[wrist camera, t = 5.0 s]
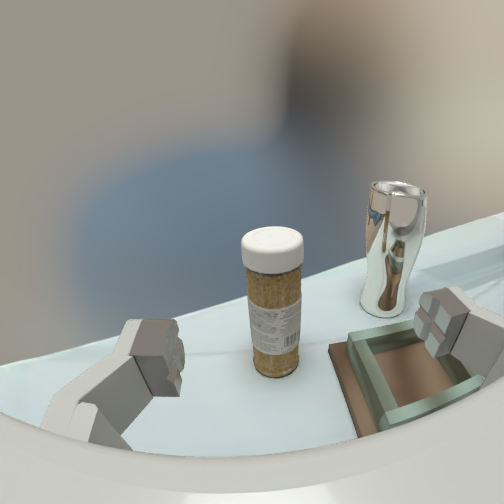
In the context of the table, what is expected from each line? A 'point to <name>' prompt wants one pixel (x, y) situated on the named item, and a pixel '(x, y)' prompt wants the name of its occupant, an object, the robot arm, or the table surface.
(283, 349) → the sprinkles bottle
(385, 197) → the beer glass
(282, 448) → the table surface
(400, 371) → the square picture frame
